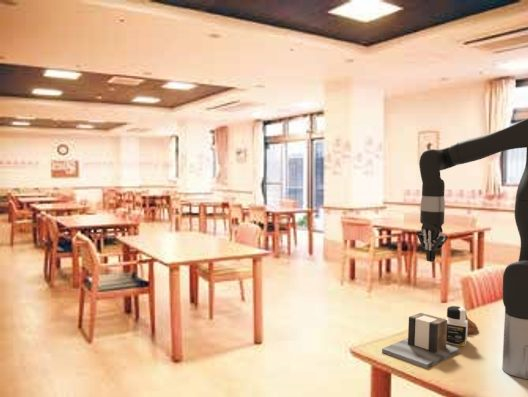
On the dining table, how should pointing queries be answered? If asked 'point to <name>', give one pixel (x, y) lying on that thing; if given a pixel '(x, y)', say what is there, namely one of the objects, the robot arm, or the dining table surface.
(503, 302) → the robot arm
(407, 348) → the u-shaped block stand
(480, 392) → the dining table surface
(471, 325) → the bell
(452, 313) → the medicine bottle
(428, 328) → the peg
